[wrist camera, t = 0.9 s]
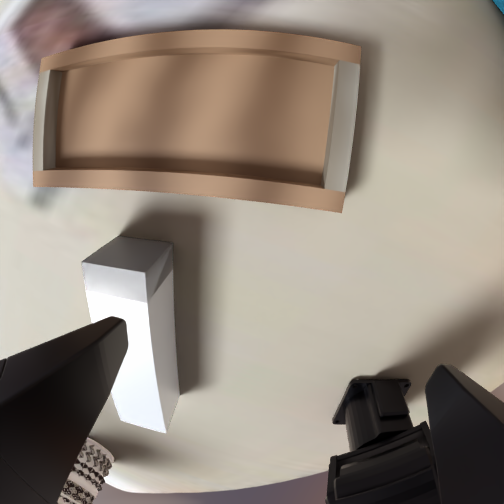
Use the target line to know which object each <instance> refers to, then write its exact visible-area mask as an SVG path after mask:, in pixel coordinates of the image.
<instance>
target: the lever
mask: <svg viewBox="0 0 504 504" xmlns="http://www.w3.org/2000/svg"><path fill="white" fill-rule="evenodd" d="M493 1H494V2H495V4H496V5H497V6H498V8H499V9H500V10H501V11H502V13H503V14H504V0H493Z"/></svg>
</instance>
